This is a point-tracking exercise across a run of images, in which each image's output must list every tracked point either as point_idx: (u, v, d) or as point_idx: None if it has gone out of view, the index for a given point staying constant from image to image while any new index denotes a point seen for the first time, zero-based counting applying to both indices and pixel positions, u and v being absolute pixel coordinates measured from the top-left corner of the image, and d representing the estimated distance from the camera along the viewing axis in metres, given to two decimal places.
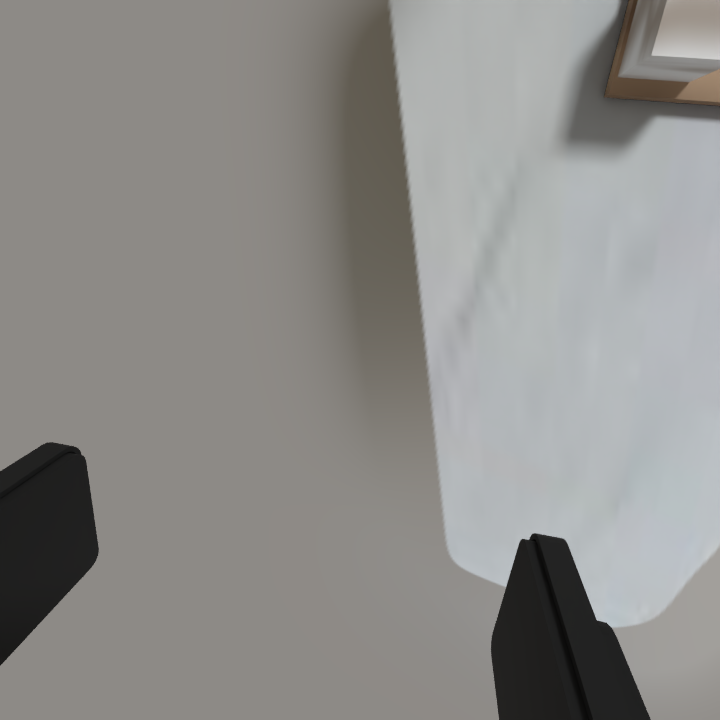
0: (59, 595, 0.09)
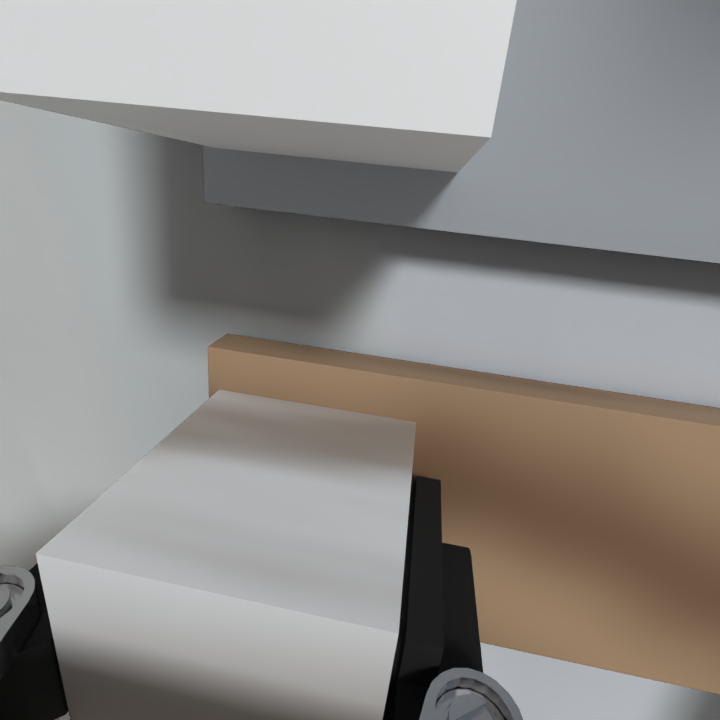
0: None
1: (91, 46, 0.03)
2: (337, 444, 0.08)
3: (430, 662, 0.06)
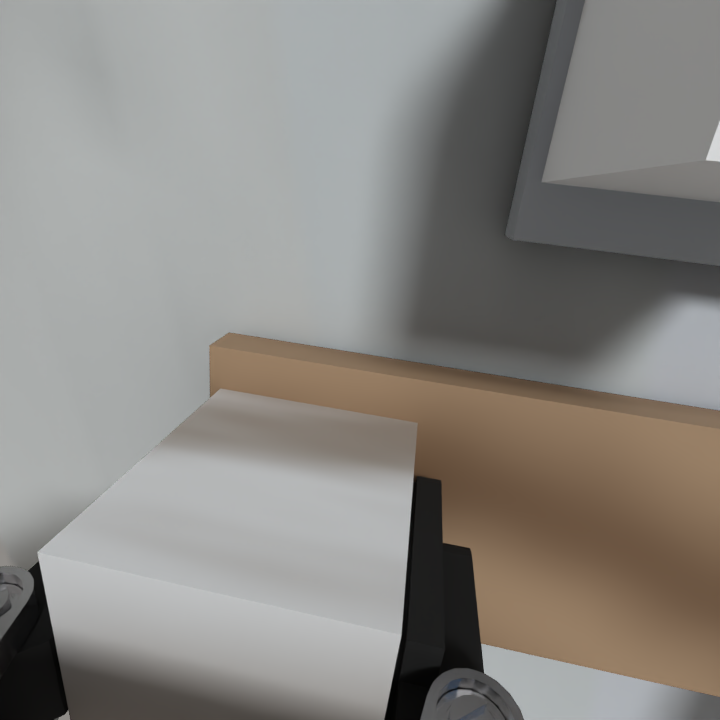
0: None
1: None
2: (339, 444, 0.08)
3: (431, 662, 0.06)
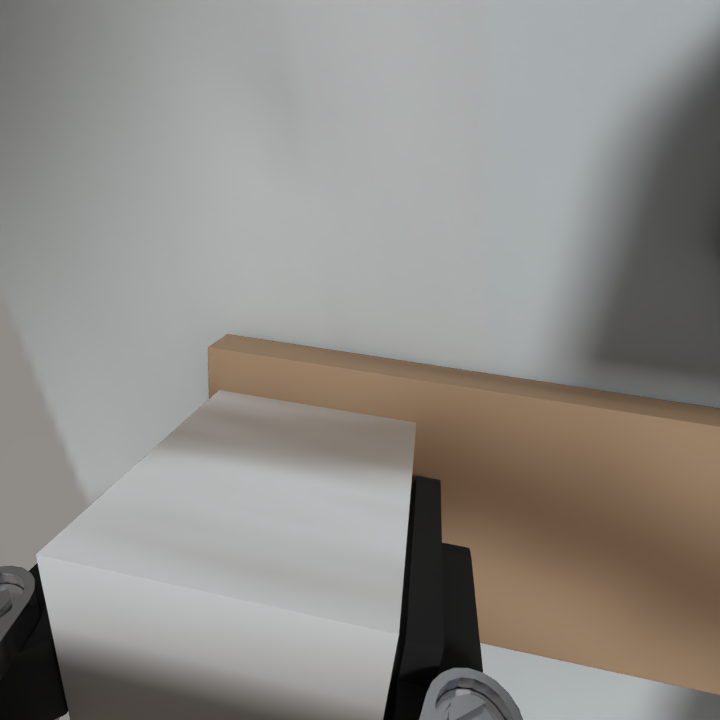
0: None
1: None
2: (337, 444, 0.08)
3: (430, 662, 0.06)
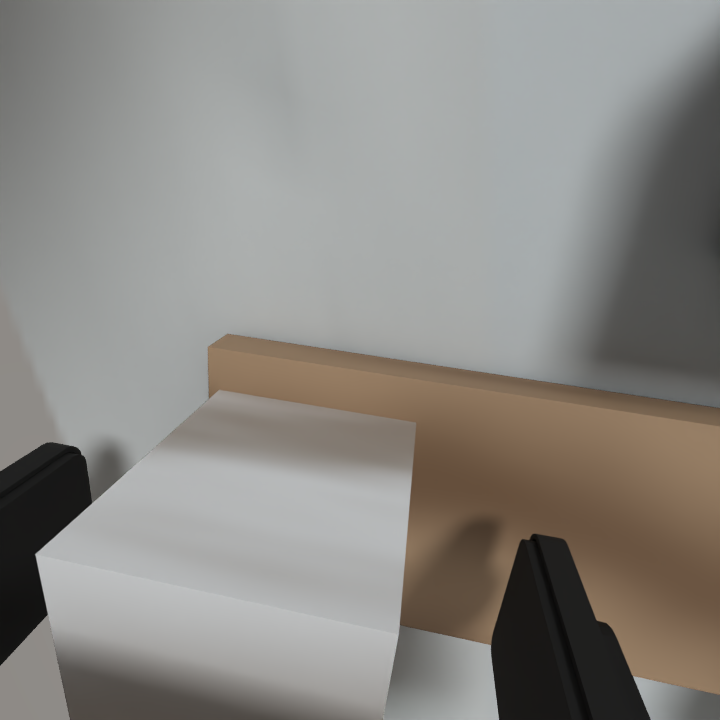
0: None
1: None
2: (337, 444, 0.08)
3: None
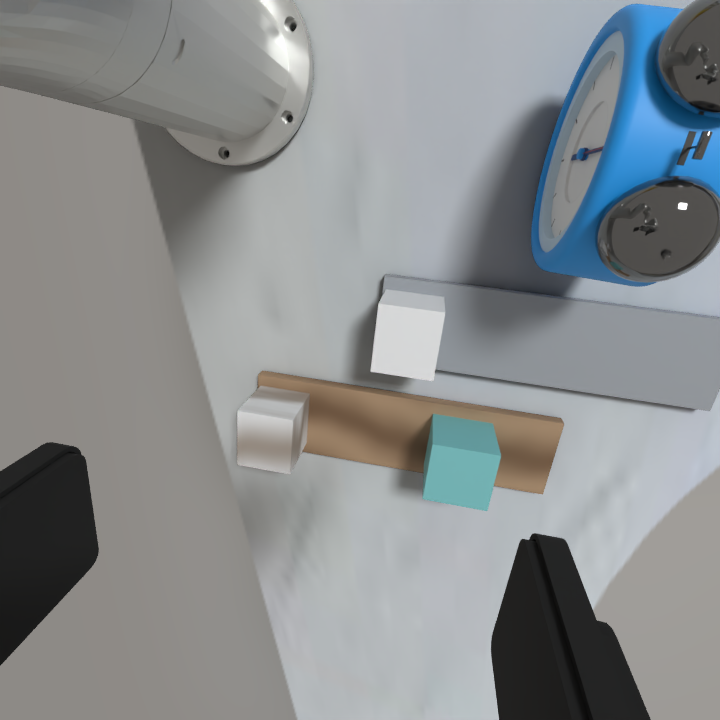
0: (59, 595, 0.09)
1: (390, 370, 0.31)
2: (289, 397, 0.38)
3: None
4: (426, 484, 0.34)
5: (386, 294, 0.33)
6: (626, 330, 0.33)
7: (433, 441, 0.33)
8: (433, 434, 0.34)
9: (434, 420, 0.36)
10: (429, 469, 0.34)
